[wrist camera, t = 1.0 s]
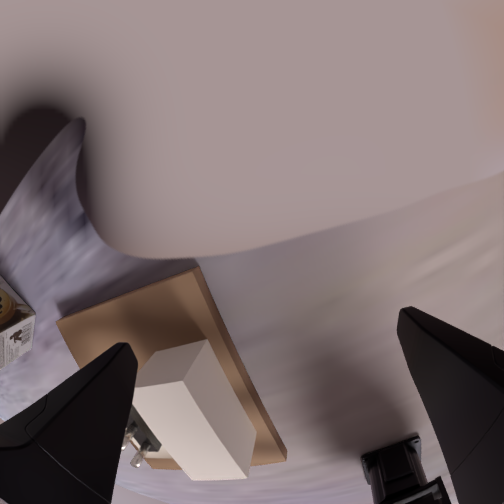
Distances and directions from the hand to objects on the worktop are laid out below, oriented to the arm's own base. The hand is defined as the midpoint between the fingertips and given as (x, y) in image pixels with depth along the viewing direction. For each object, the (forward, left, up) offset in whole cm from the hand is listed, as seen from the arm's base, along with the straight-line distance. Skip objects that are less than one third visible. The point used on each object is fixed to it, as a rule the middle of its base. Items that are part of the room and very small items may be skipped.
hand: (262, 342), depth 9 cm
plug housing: (-8, +9, -10) cm, 16 cm away
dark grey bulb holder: (-10, +18, -10) cm, 23 cm away
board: (-8, +14, -12) cm, 20 cm away
